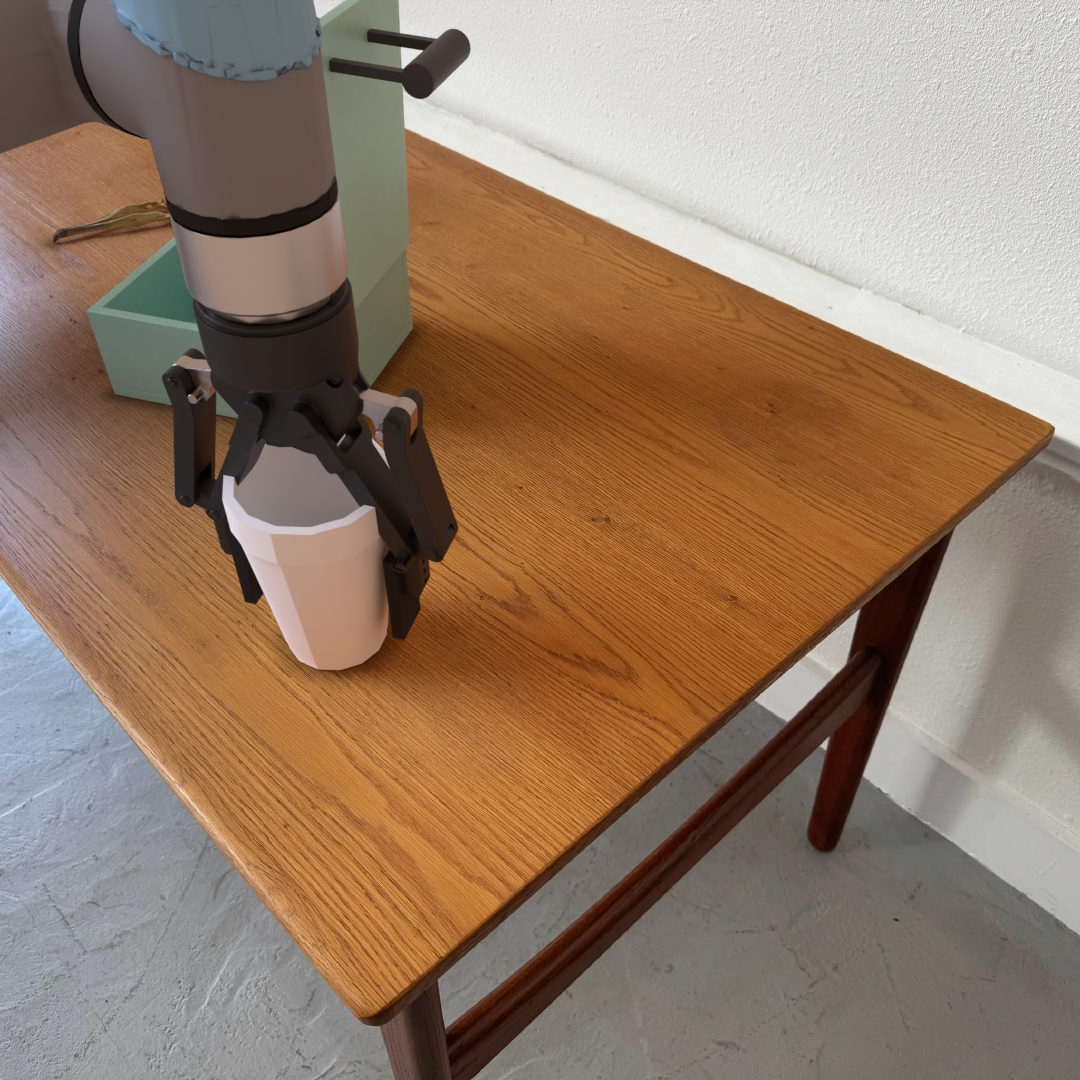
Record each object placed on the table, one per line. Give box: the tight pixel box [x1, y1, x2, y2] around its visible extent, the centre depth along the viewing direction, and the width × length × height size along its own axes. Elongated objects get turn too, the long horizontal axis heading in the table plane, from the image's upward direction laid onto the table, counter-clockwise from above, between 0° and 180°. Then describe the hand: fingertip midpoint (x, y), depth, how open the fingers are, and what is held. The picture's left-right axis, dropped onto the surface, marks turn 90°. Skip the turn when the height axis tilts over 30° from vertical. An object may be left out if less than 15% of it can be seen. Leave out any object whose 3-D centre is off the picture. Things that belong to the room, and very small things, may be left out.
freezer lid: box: [318, 0, 471, 309], centre depth 73 cm, size 21×17×8 cm
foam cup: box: [222, 435, 390, 671], centre depth 62 cm, size 10×9×13 cm
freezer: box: [86, 236, 414, 420], centre depth 86 cm, size 20×17×8 cm
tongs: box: [51, 198, 171, 245], centre depth 106 cm, size 4×13×2 cm, turn 125°
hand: (332, 605), depth 64 cm, fingers closed on foam cup, 9 cm apart
